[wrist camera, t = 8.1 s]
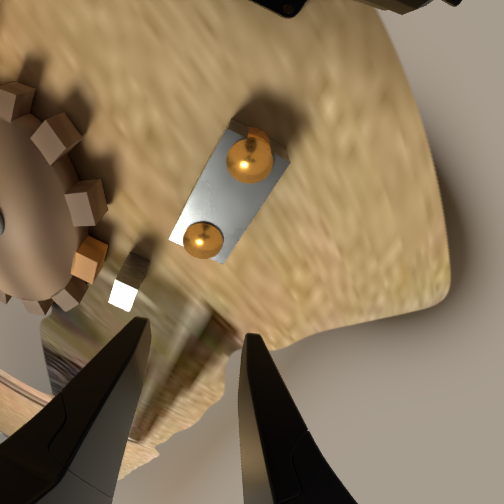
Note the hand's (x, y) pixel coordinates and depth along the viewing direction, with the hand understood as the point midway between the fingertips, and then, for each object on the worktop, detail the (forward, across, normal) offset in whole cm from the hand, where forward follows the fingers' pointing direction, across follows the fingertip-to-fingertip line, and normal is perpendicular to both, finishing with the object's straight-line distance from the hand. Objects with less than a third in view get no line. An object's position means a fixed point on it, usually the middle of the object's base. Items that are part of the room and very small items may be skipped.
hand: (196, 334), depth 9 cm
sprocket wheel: (+11, +17, +3) cm, 21 cm away
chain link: (+11, 0, 0) cm, 11 cm away
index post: (+11, +6, +7) cm, 14 cm away
